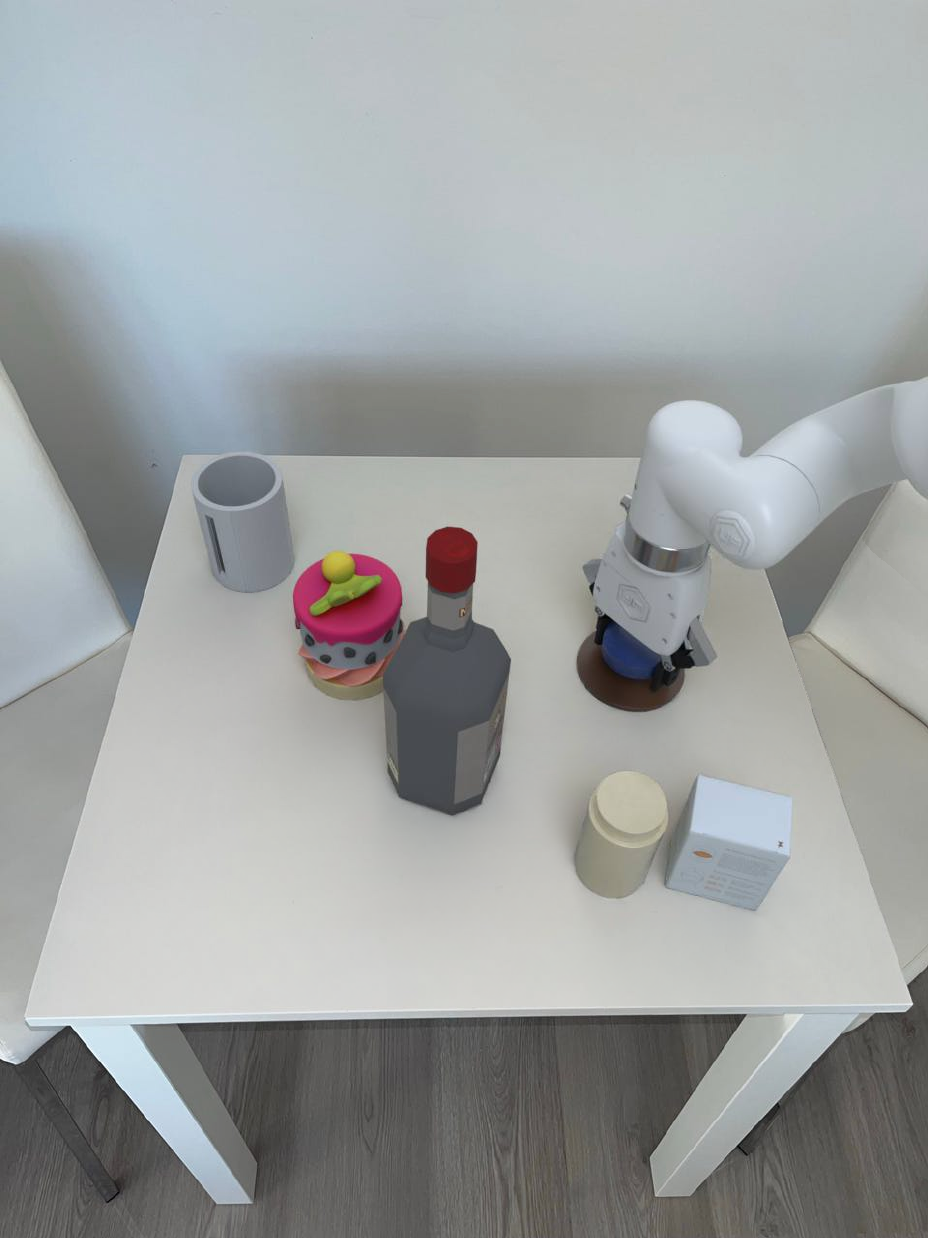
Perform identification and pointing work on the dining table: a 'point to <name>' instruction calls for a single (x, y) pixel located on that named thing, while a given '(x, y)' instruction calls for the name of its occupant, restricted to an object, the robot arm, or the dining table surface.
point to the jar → (620, 834)
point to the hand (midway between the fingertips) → (633, 659)
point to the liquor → (446, 688)
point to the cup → (244, 520)
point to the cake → (348, 623)
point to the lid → (628, 653)
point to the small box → (730, 842)
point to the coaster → (620, 682)
